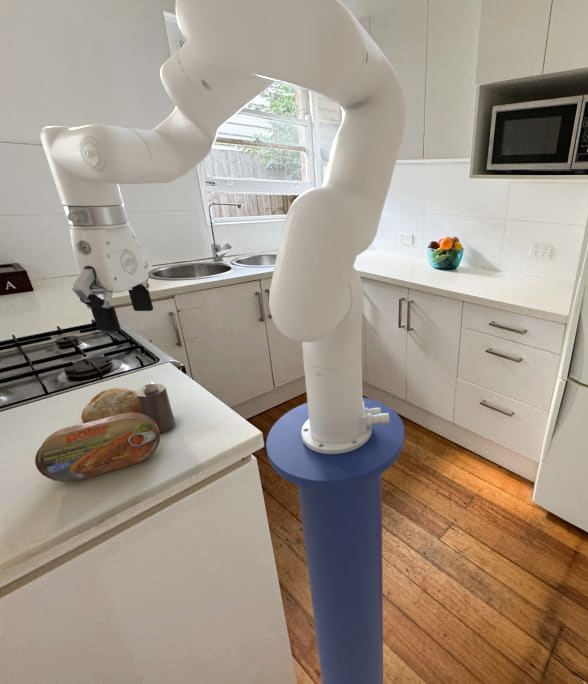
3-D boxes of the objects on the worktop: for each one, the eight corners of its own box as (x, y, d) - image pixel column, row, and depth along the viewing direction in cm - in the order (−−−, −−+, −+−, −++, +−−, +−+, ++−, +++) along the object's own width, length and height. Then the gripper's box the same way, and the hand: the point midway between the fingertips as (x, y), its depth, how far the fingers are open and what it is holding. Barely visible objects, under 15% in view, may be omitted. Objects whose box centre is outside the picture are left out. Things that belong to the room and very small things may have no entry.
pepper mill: (178, 419, 73) (167, 376, 69) (170, 433, 69) (158, 389, 65) (153, 421, 72) (140, 378, 68) (143, 435, 68) (129, 391, 64)
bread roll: (100, 455, 68) (97, 428, 64) (70, 417, 71) (65, 389, 66) (158, 427, 76) (159, 402, 72) (129, 394, 79) (128, 368, 74)
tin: (46, 490, 56) (24, 444, 53) (50, 477, 59) (30, 432, 55) (165, 456, 64) (152, 413, 60) (164, 445, 66) (152, 404, 63)
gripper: (83, 224, 52) (119, 339, 59) (153, 212, 68) (175, 304, 75) (24, 223, 51) (67, 339, 58) (108, 211, 67) (134, 304, 74)
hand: (127, 319), depth 66 cm, fingers open, 9 cm apart
